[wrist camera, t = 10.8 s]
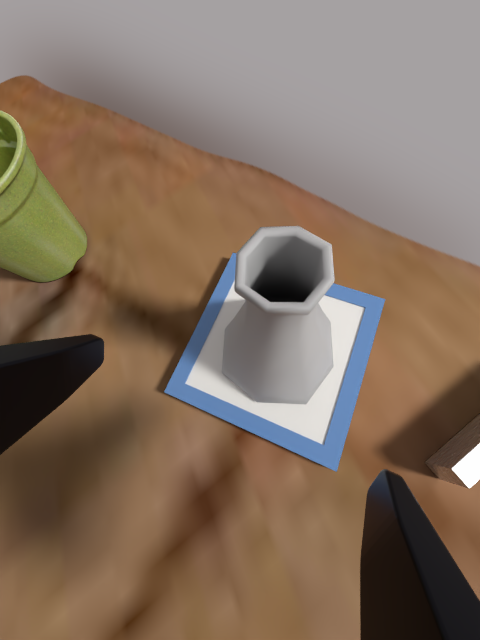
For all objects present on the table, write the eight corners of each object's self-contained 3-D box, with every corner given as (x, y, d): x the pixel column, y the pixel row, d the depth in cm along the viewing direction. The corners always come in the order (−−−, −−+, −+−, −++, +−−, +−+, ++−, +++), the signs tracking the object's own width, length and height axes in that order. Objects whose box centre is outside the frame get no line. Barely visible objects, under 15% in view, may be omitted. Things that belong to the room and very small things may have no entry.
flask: (204, 381, 18) (130, 332, 8) (244, 285, 20) (221, 161, 11) (316, 425, 16) (378, 425, 7) (347, 315, 18) (426, 201, 9)
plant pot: (2, 319, 22) (-154, 256, 14) (0, 229, 25) (-126, 138, 17) (115, 277, 22) (26, 193, 14) (97, 194, 26) (18, 89, 18)
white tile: (168, 393, 18) (163, 392, 18) (234, 259, 22) (233, 252, 21) (332, 469, 16) (336, 471, 15) (380, 304, 19) (385, 299, 18)
